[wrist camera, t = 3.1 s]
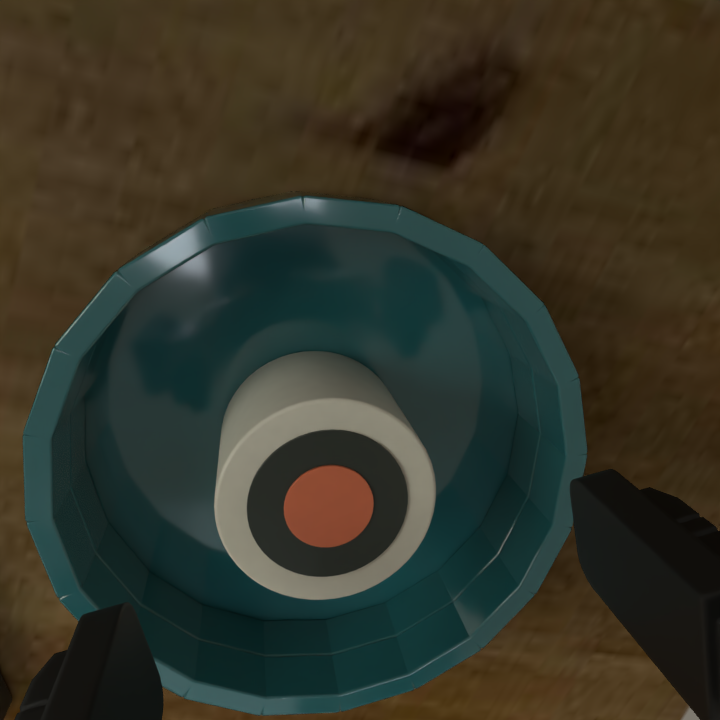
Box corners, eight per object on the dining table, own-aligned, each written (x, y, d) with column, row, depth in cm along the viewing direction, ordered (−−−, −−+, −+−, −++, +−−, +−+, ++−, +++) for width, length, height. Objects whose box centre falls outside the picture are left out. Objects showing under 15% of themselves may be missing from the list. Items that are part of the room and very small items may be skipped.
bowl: (150, 677, 20) (131, 777, 17) (-11, 257, 16) (-78, 279, 13) (552, 560, 21) (608, 632, 18) (496, 144, 17) (554, 138, 14)
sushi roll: (247, 535, 19) (246, 630, 15) (199, 375, 17) (185, 434, 13) (412, 490, 19) (454, 571, 15) (380, 330, 18) (417, 375, 14)
